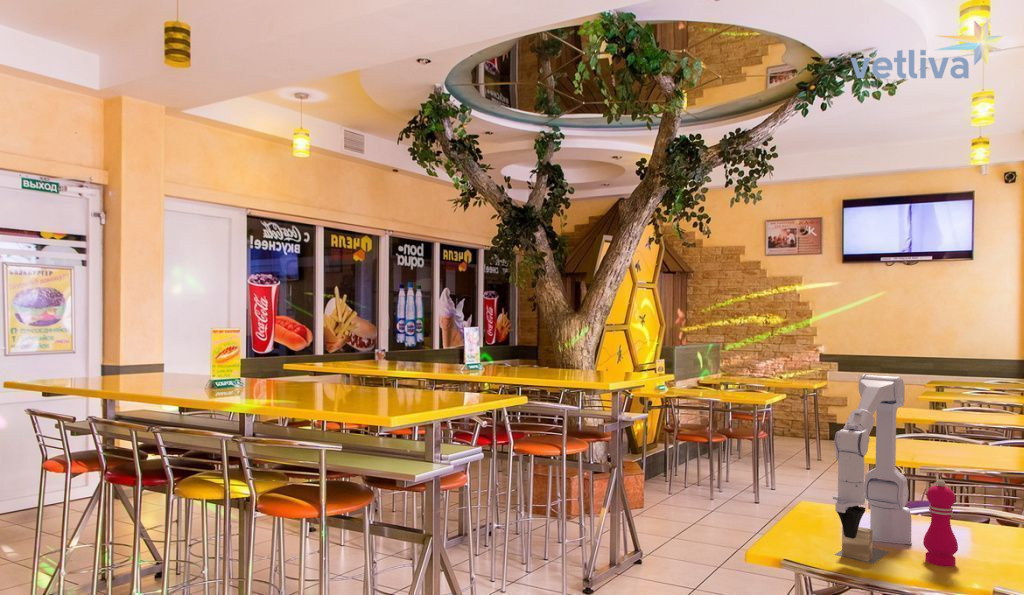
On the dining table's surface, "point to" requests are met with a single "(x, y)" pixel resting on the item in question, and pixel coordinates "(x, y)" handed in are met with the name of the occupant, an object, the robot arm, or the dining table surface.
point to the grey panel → (876, 555)
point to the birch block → (858, 544)
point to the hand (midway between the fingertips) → (850, 537)
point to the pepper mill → (940, 527)
